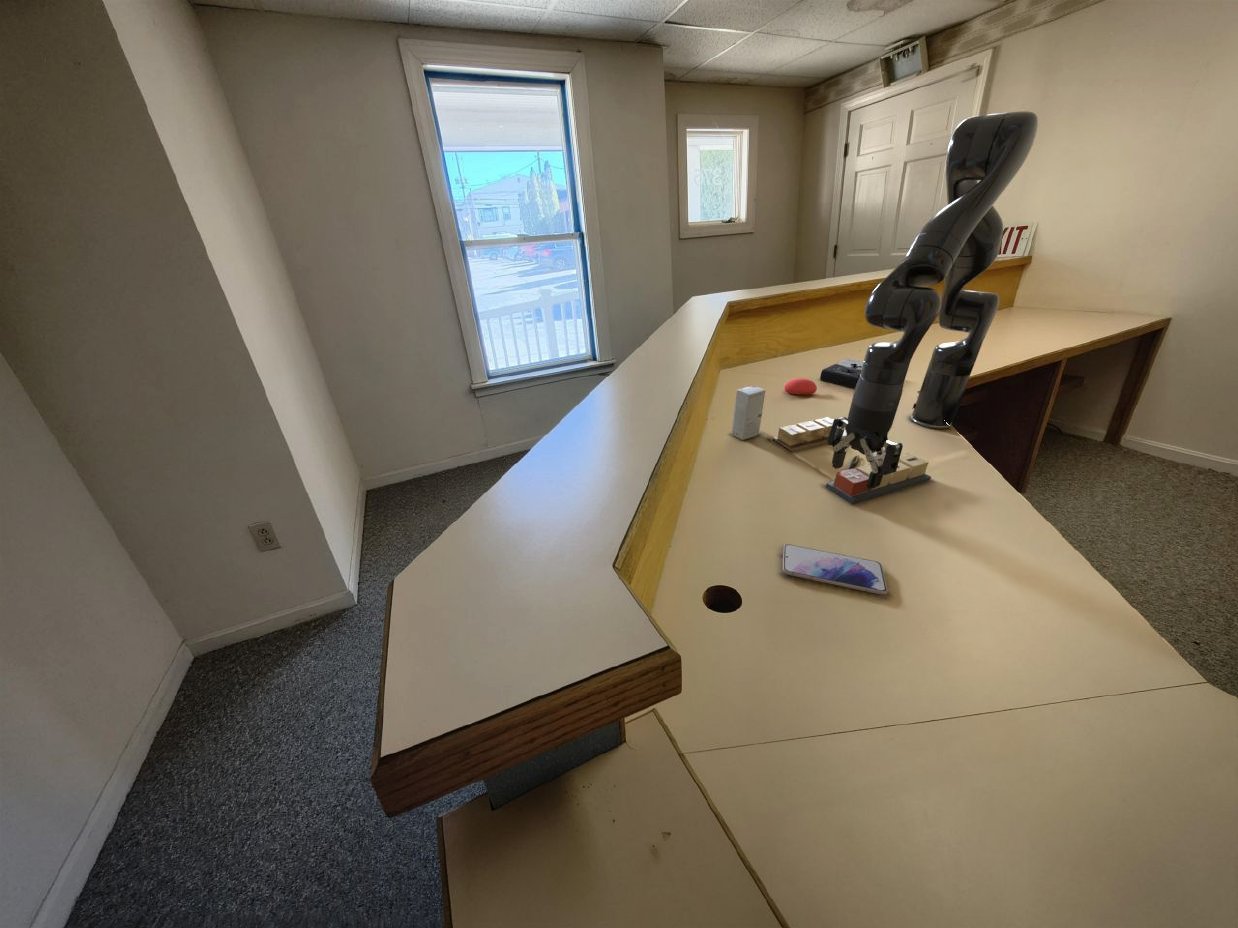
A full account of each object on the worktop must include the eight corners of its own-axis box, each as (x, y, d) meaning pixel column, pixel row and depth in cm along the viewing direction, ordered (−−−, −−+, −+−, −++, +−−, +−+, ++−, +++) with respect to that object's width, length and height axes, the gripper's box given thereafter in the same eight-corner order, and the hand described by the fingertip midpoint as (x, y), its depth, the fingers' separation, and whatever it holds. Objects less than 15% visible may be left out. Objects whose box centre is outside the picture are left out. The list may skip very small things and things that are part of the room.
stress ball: (809, 403, 138) (821, 385, 136) (783, 389, 139) (794, 371, 137) (807, 403, 142) (818, 385, 141) (781, 389, 144) (792, 371, 142)
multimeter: (818, 380, 152) (822, 365, 149) (844, 368, 163) (847, 354, 160) (858, 390, 143) (862, 375, 141) (882, 376, 154) (886, 362, 152)
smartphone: (888, 593, 67) (782, 570, 71) (886, 597, 68) (781, 575, 72) (881, 561, 73) (784, 542, 77) (879, 565, 73) (783, 546, 78)
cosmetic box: (743, 440, 113) (749, 395, 107) (730, 434, 117) (735, 389, 111) (760, 434, 116) (767, 389, 110) (746, 428, 120) (753, 384, 114)
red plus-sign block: (849, 480, 94) (853, 467, 93) (867, 491, 91) (871, 478, 89) (833, 485, 93) (836, 472, 91) (850, 496, 89) (854, 482, 88)
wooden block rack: (900, 465, 102) (906, 449, 100) (929, 480, 96) (936, 464, 94) (825, 487, 94) (829, 470, 92) (852, 504, 89) (857, 486, 87)
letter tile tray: (838, 425, 121) (841, 411, 119) (859, 435, 115) (863, 421, 113) (771, 440, 113) (774, 425, 111) (790, 452, 108) (794, 436, 106)
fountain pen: (846, 486, 94) (848, 480, 93) (840, 485, 95) (842, 479, 94) (859, 458, 104) (861, 453, 103) (854, 457, 105) (855, 451, 104)
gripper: (925, 412, 78) (898, 490, 86) (858, 386, 90) (840, 457, 98) (894, 419, 76) (869, 499, 84) (829, 392, 87) (813, 464, 95)
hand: (853, 477), depth 91 cm, fingers open, 8 cm apart
